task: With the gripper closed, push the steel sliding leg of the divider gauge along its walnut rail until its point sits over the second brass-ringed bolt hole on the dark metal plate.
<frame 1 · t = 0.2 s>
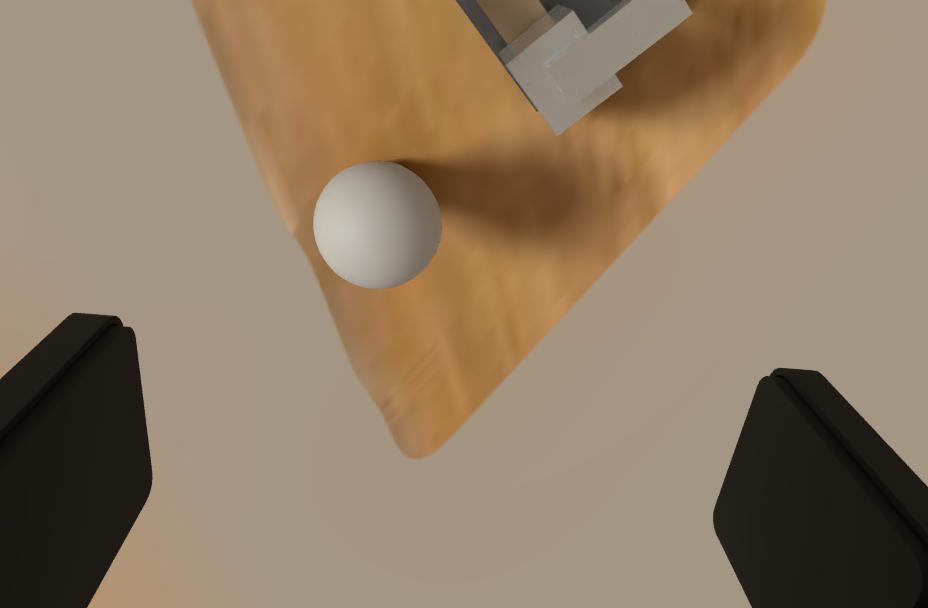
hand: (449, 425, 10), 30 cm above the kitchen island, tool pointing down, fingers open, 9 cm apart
sliding leg: (589, 42, 32), point 5 cm above the kitchen island, slide at 5.0 cm
lightbulb: (390, 177, 40), on the kitchen island
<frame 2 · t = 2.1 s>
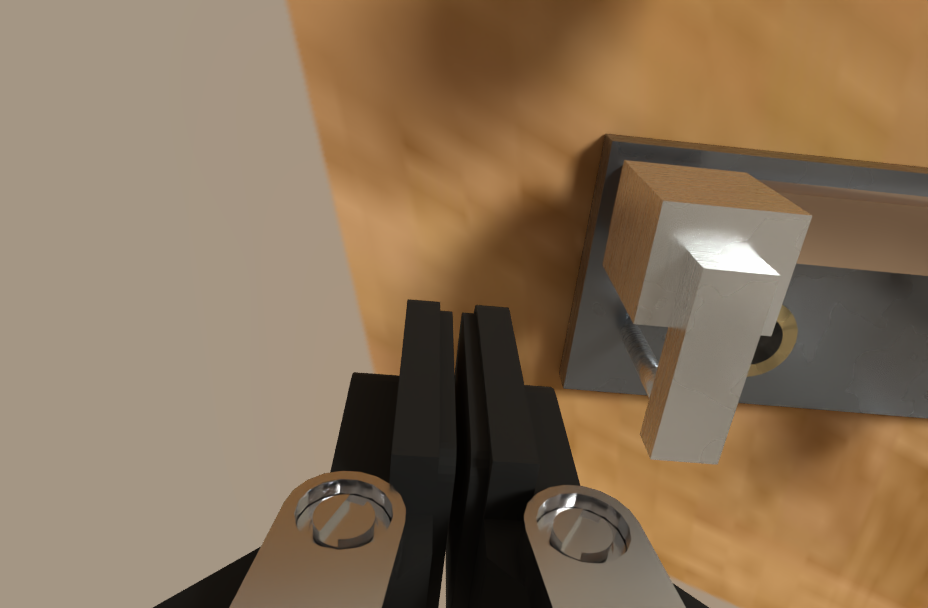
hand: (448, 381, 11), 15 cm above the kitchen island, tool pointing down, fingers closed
sliding leg: (677, 297, 21), point 5 cm above the kitchen island, slide at 5.0 cm
bolt plate: (852, 288, 27), on the kitchen island
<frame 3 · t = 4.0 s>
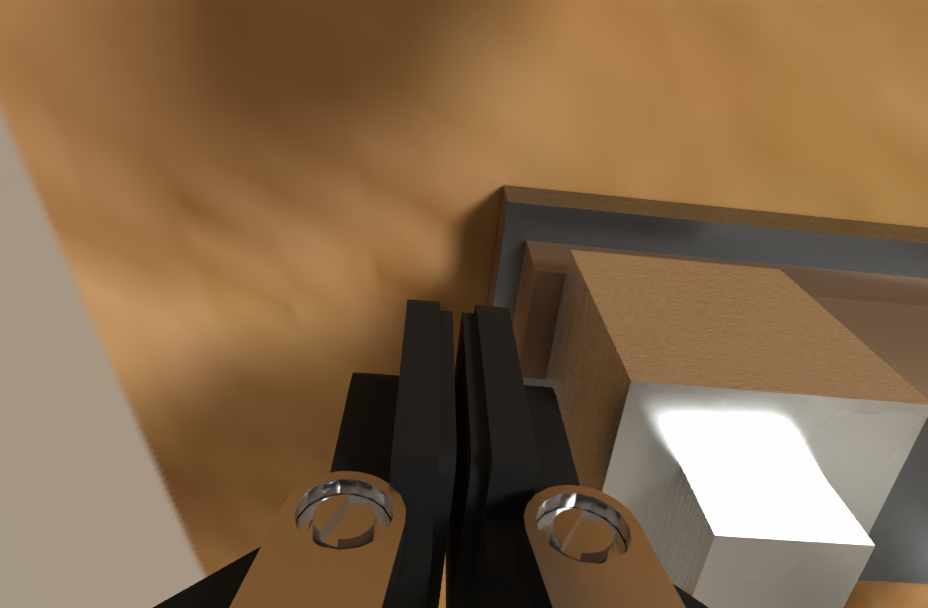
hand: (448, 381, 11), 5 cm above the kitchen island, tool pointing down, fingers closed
sliding leg: (662, 490, 12), point 5 cm above the kitchen island, slide at 4.0 cm, touching gripper
bolt plate: (886, 408, 18), on the kitchen island
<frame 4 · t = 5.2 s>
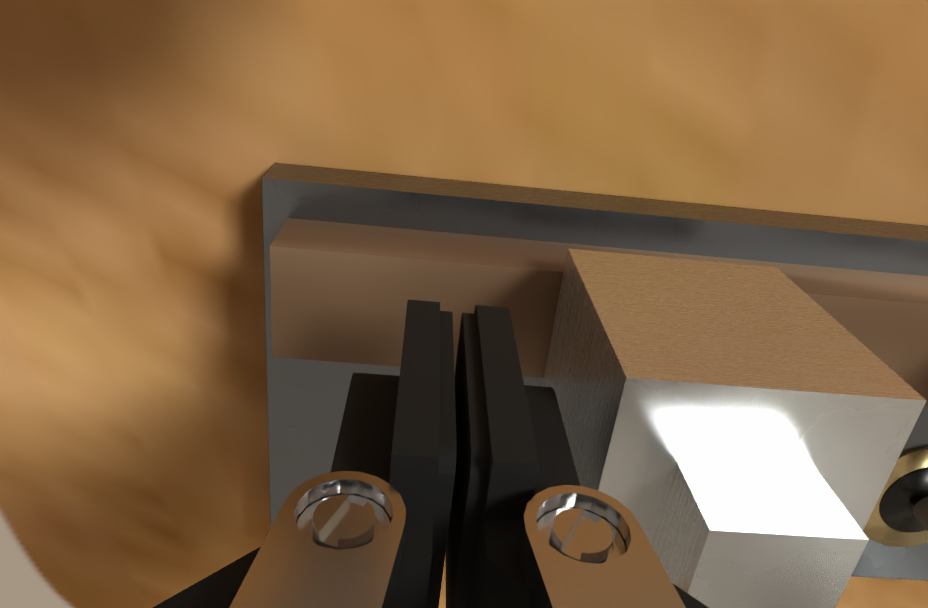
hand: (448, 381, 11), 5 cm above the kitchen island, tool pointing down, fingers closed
sliding leg: (660, 486, 12), point 5 cm above the kitchen island, slide at -1.0 cm, touching gripper
bolt plate: (704, 392, 18), on the kitchen island
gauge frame: (810, 495, 13), on the bolt plate, point 5 cm above the kitchen island
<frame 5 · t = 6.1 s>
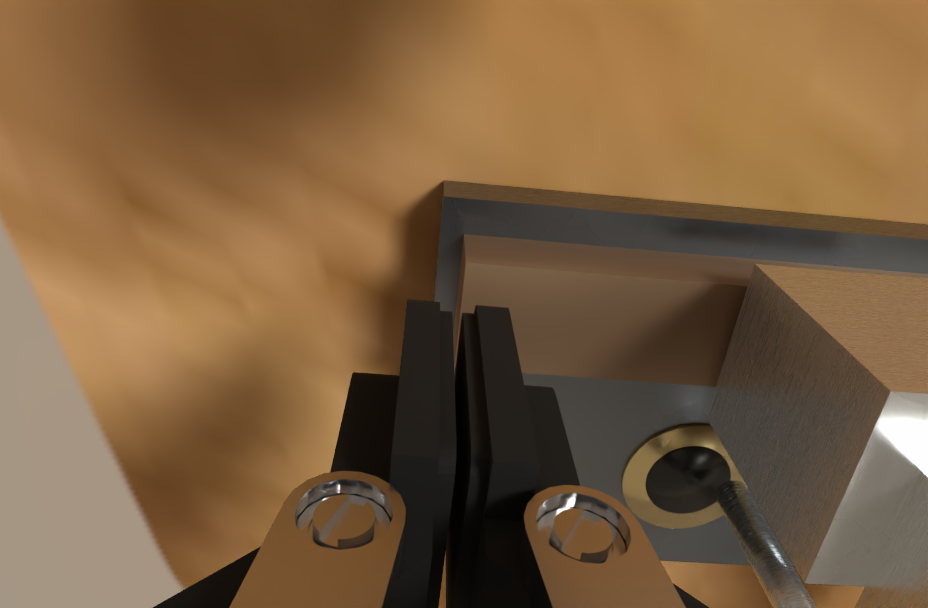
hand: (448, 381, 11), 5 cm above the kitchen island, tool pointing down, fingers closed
sliding leg: (846, 492, 13), point 5 cm above the kitchen island, slide at -1.0 cm
bolt plate: (834, 398, 18), on the kitchen island
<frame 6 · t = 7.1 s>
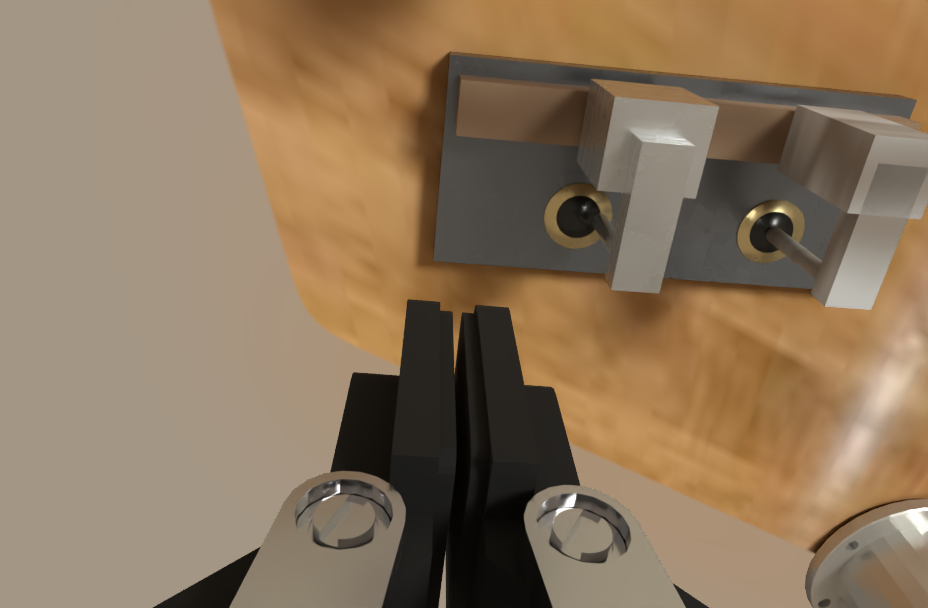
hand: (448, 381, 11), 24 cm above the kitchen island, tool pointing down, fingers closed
sliding leg: (631, 179, 29), point 5 cm above the kitchen island, slide at -1.0 cm
bolt plate: (657, 177, 34), on the kitchen island
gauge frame: (696, 187, 29), on the bolt plate, point 5 cm above the kitchen island
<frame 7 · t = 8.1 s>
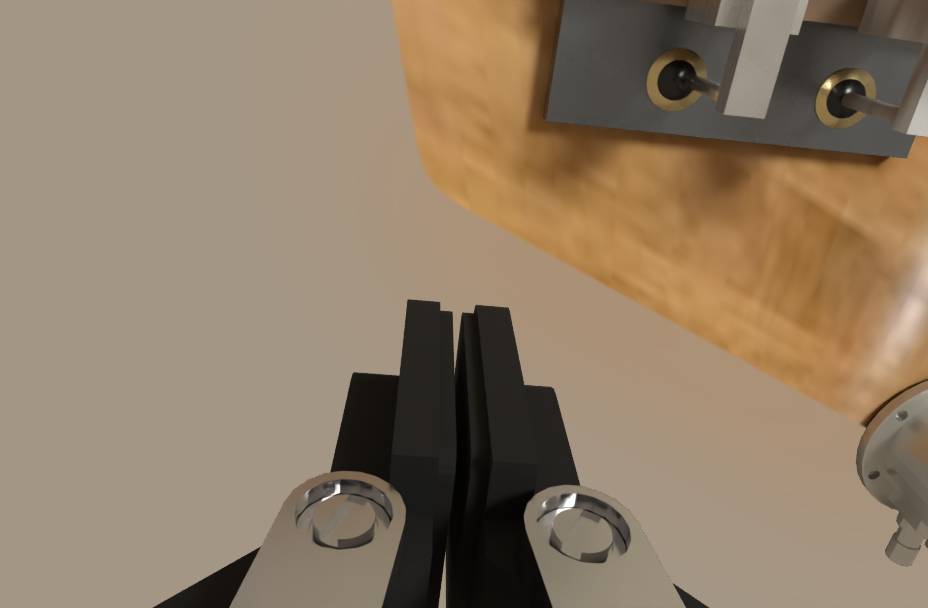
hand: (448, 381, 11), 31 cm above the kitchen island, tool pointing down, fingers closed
sliding leg: (736, 27, 33), point 5 cm above the kitchen island, slide at -1.0 cm
bolt plate: (746, 48, 39), on the kitchen island
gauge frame: (792, 37, 34), on the bolt plate, point 5 cm above the kitchen island
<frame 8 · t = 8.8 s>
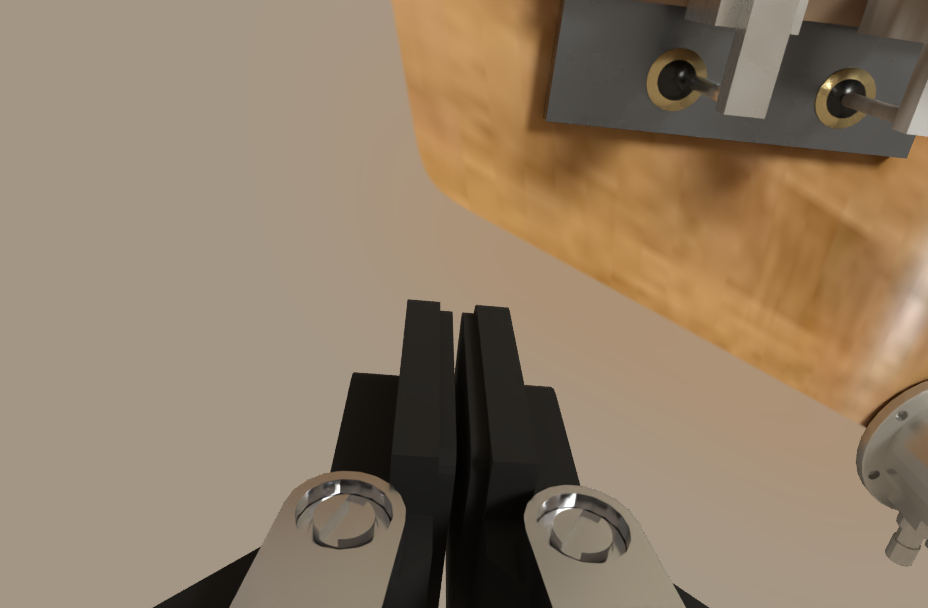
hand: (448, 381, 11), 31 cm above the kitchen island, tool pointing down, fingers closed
sliding leg: (736, 27, 33), point 5 cm above the kitchen island, slide at -1.0 cm
bolt plate: (746, 48, 39), on the kitchen island
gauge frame: (792, 37, 34), on the bolt plate, point 5 cm above the kitchen island
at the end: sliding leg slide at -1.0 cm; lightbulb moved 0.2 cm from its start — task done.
